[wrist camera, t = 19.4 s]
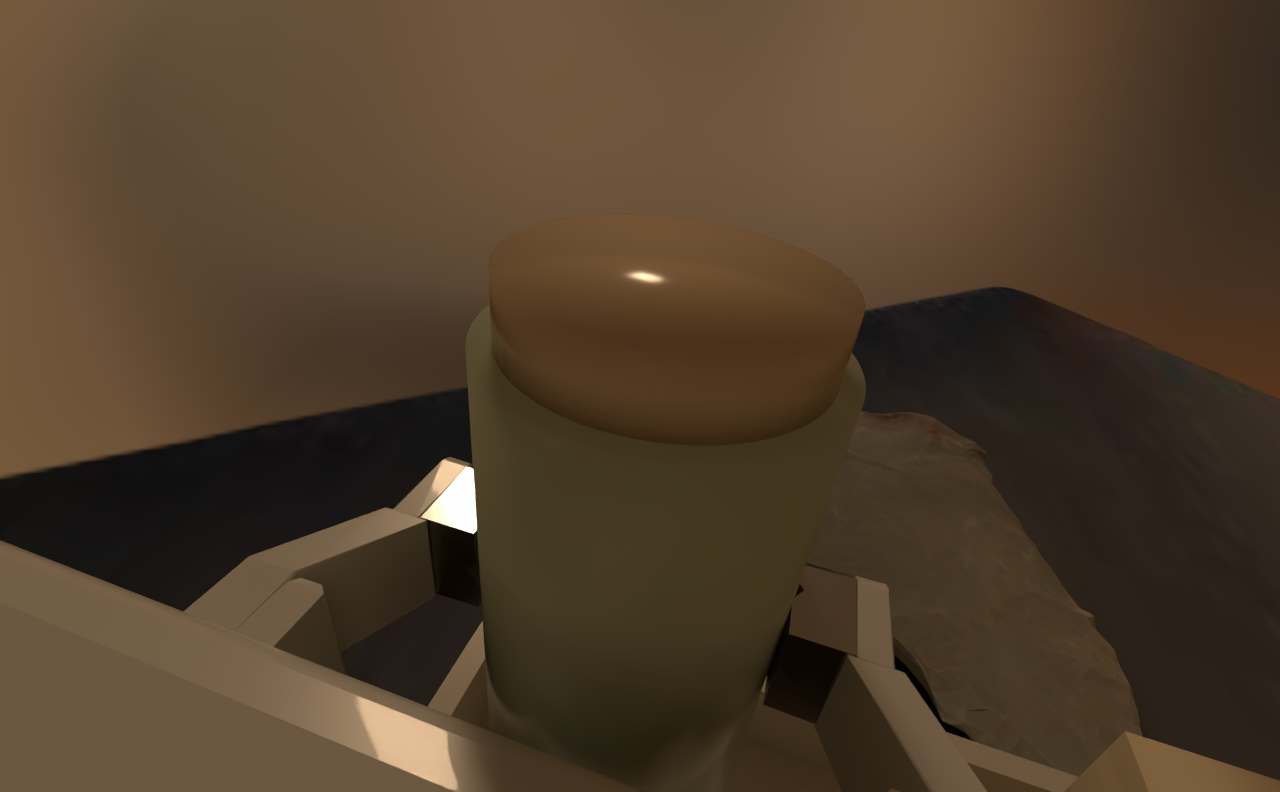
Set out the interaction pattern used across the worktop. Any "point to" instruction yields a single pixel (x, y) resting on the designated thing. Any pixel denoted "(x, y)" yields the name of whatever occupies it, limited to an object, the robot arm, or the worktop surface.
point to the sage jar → (650, 481)
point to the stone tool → (972, 596)
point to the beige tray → (765, 742)
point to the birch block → (1164, 771)
